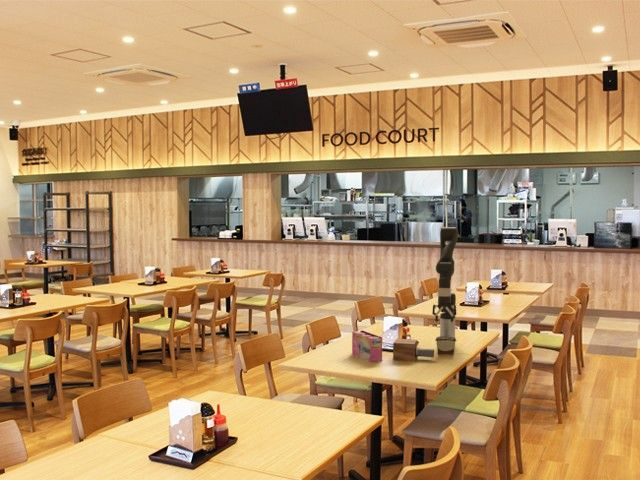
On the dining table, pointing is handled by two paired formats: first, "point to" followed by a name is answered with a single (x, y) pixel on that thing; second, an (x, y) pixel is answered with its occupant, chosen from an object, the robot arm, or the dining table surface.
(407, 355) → the housing
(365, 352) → the gum box
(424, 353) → the grey capped rod
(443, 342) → the food container
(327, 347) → the dining table surface
